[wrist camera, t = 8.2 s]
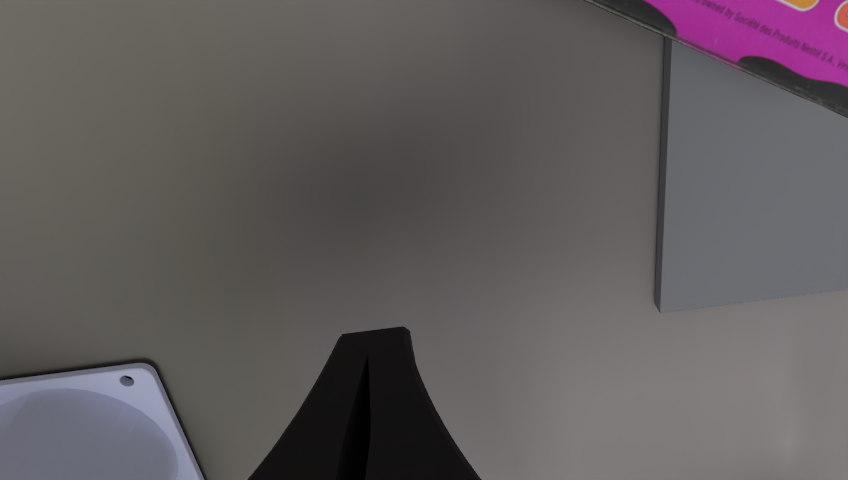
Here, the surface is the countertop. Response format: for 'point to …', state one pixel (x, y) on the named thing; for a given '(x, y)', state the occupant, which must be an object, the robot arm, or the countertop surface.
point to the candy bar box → (759, 39)
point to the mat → (746, 189)
